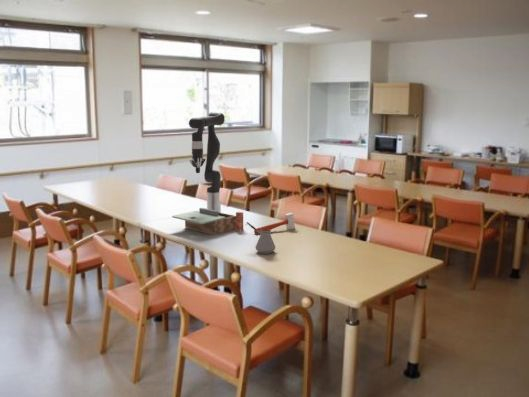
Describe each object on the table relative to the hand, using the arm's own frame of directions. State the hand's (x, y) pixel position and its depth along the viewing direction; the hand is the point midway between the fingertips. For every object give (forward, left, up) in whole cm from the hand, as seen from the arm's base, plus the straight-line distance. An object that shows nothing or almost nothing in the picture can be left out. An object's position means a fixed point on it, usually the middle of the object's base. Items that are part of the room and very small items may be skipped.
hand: (197, 172), depth 362 cm
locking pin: (-4, +35, -35) cm, 50 cm away
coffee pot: (+22, +75, -35) cm, 86 cm away
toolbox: (+6, +18, -35) cm, 40 cm away
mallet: (-17, +55, -36) cm, 67 cm away
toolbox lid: (+16, +18, -26) cm, 36 cm away
